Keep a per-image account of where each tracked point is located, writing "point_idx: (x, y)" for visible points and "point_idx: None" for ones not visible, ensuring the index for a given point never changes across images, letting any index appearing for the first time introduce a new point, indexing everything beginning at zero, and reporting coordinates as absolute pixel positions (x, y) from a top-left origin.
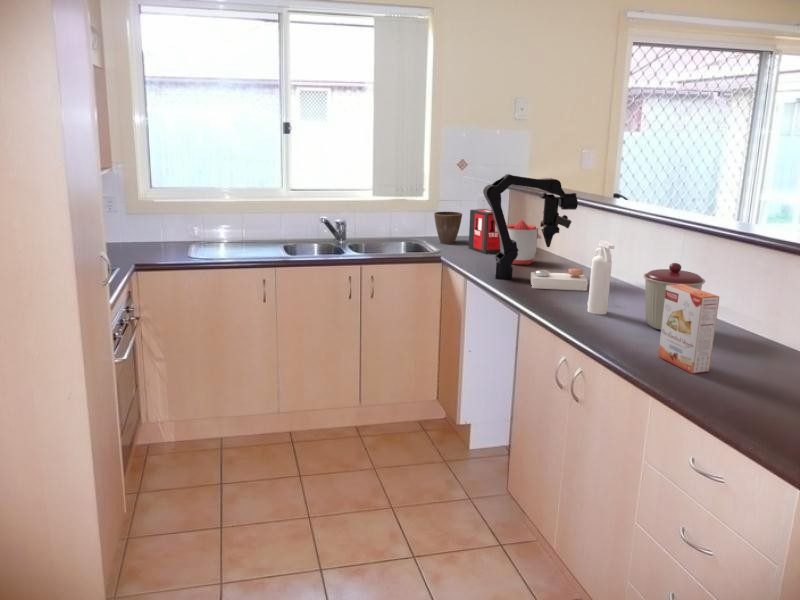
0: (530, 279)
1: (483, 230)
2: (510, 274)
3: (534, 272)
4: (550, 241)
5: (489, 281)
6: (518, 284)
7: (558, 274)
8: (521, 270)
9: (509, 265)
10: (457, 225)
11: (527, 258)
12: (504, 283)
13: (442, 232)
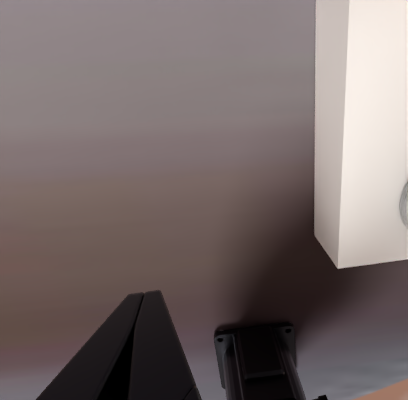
0: (320, 241)
1: None
2: (278, 343)
3: (352, 247)
4: (187, 367)
5: (347, 384)
6: (394, 279)
7: (406, 71)
8: (28, 303)
9: (295, 396)
10: None
11: None
12: (379, 333)
13: None
